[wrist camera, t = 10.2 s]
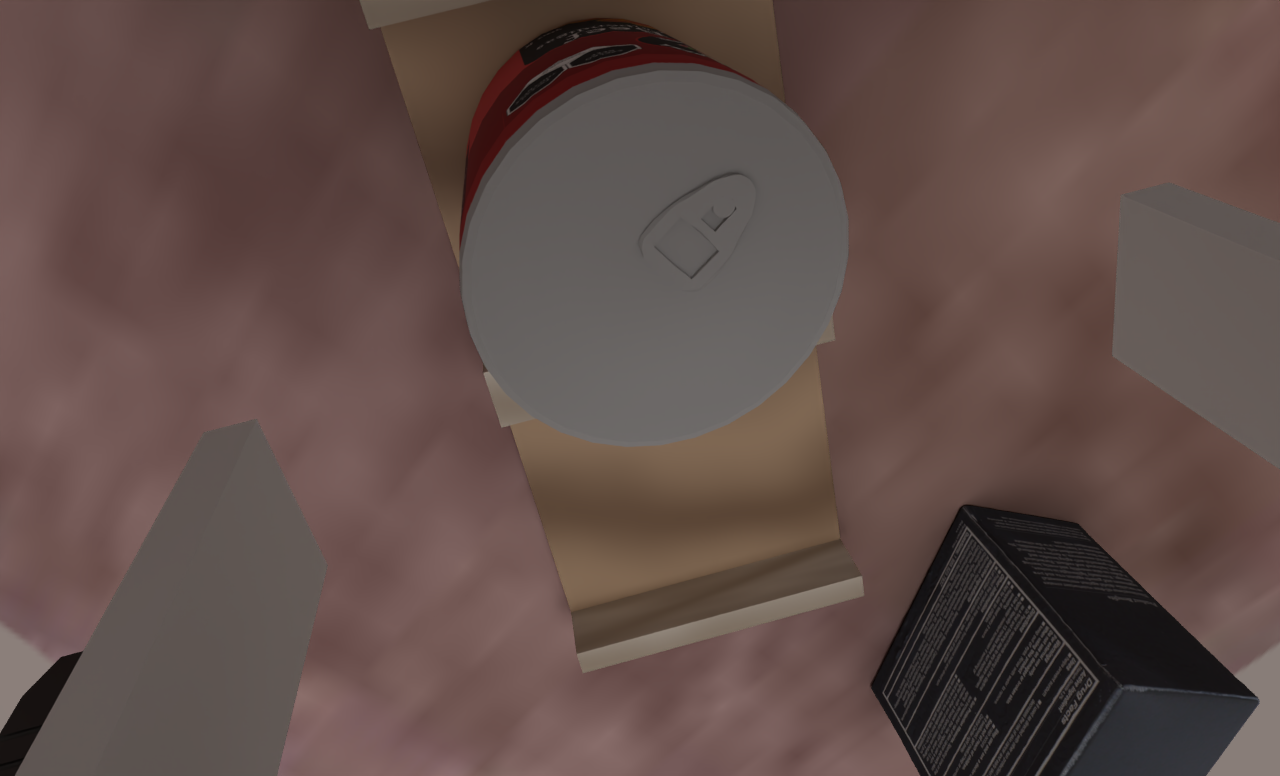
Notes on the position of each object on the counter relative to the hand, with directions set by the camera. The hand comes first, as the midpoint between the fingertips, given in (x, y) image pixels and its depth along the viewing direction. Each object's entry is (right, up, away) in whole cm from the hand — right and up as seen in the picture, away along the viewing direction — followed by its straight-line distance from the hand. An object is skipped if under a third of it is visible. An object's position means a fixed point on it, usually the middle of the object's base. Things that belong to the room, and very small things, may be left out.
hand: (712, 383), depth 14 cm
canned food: (-2, +7, +14) cm, 16 cm away
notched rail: (-1, +3, +18) cm, 18 cm away
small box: (+14, -10, +27) cm, 32 cm away
